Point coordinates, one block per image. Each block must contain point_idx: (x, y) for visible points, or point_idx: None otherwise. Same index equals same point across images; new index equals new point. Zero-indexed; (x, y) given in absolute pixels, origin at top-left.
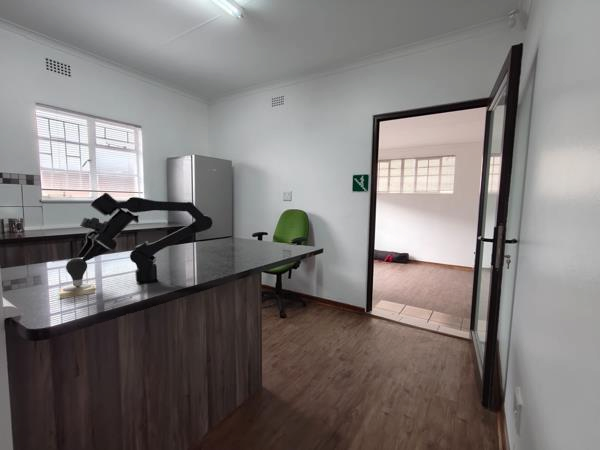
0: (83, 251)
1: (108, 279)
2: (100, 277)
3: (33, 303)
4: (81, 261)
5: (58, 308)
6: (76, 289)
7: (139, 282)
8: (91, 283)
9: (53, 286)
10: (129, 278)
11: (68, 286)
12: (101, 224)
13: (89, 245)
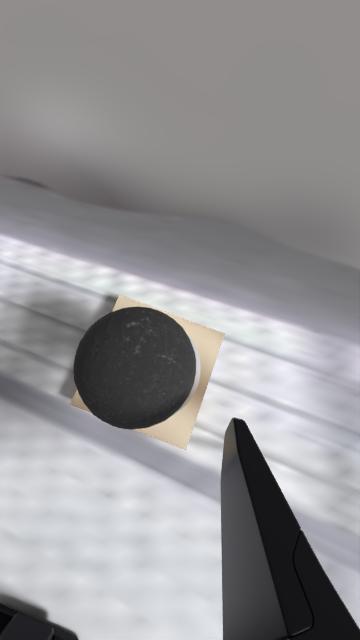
0: (237, 486)
1: None
2: (343, 554)
3: (144, 239)
4: (79, 379)
5: (12, 258)
6: None
7: (2, 616)
8: (170, 435)
9: (333, 351)
10: None
11: (208, 355)
12: None
13: (260, 636)
